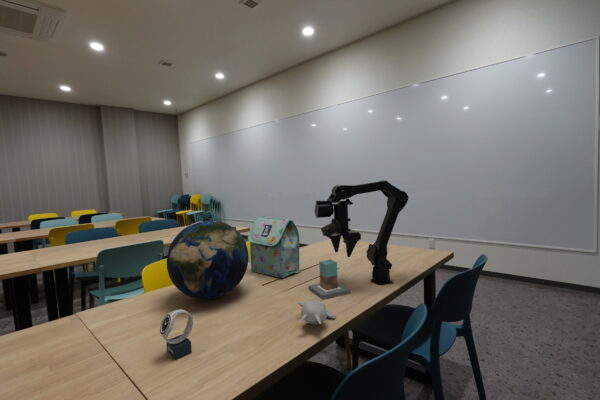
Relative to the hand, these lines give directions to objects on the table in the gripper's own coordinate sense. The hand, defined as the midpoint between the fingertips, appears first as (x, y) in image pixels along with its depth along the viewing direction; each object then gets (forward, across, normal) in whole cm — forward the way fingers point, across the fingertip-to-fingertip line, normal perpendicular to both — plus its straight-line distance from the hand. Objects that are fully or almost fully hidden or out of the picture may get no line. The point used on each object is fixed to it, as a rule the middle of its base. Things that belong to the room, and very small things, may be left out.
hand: (342, 254), depth 119 cm
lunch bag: (+13, -33, -18) cm, 40 cm away
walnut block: (+11, +2, -8) cm, 14 cm away
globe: (+13, -17, -50) cm, 54 cm away
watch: (+13, +19, -63) cm, 67 cm away
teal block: (+6, +2, -8) cm, 10 cm away
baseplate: (+13, +2, -8) cm, 15 cm away
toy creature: (+13, +22, -24) cm, 36 cm away
